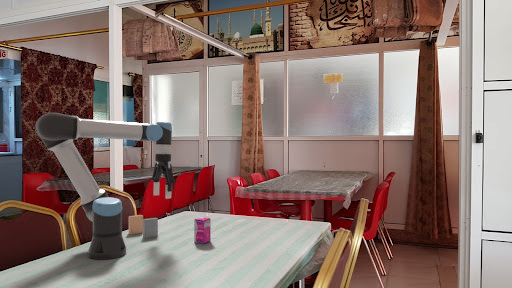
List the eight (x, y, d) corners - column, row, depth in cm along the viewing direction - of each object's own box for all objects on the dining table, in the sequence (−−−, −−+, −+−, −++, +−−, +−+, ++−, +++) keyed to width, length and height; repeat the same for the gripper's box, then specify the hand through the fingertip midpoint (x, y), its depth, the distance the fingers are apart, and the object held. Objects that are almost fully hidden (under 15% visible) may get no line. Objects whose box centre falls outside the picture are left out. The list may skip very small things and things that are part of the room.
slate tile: (144, 238, 196) (144, 220, 196) (142, 237, 198) (142, 219, 198) (157, 236, 200) (157, 218, 200) (156, 235, 202) (156, 217, 202)
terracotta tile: (129, 234, 204) (129, 216, 204) (128, 233, 205) (128, 216, 205) (143, 232, 208) (143, 215, 208) (141, 231, 210) (141, 214, 210)
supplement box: (193, 243, 187) (193, 218, 187) (201, 240, 192) (201, 216, 192) (203, 244, 184) (203, 220, 184) (211, 241, 190) (211, 217, 189)
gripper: (182, 154, 186) (180, 199, 186) (159, 152, 206) (158, 193, 206) (167, 154, 182) (166, 200, 182) (145, 152, 201) (144, 194, 201)
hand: (162, 196), depth 194 cm, fingers open, 13 cm apart
